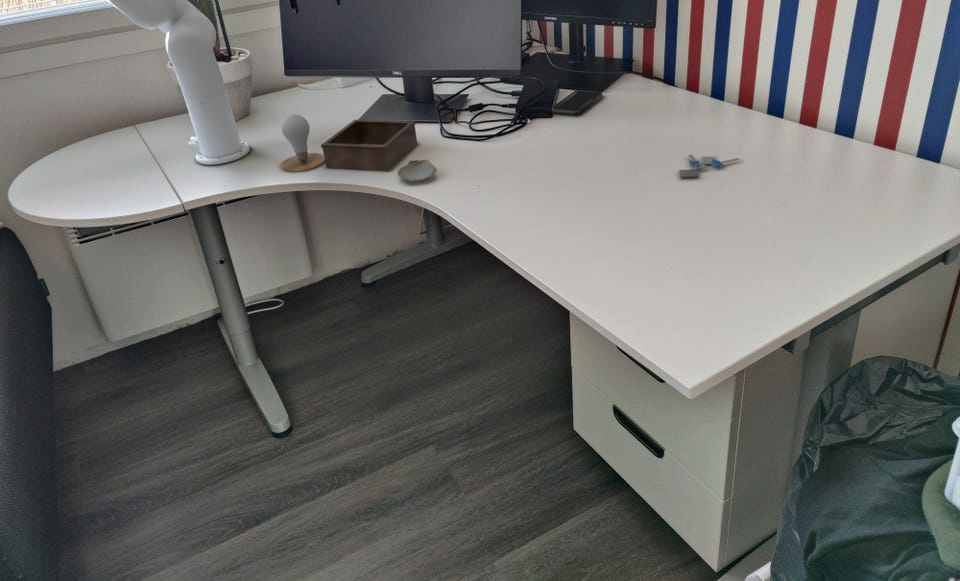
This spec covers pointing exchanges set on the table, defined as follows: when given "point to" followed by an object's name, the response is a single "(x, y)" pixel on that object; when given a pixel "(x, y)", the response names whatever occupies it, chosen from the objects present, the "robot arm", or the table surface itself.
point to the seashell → (417, 170)
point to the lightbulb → (297, 135)
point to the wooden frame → (351, 155)
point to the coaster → (303, 163)
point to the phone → (577, 102)
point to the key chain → (705, 160)
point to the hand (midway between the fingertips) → (316, 8)
